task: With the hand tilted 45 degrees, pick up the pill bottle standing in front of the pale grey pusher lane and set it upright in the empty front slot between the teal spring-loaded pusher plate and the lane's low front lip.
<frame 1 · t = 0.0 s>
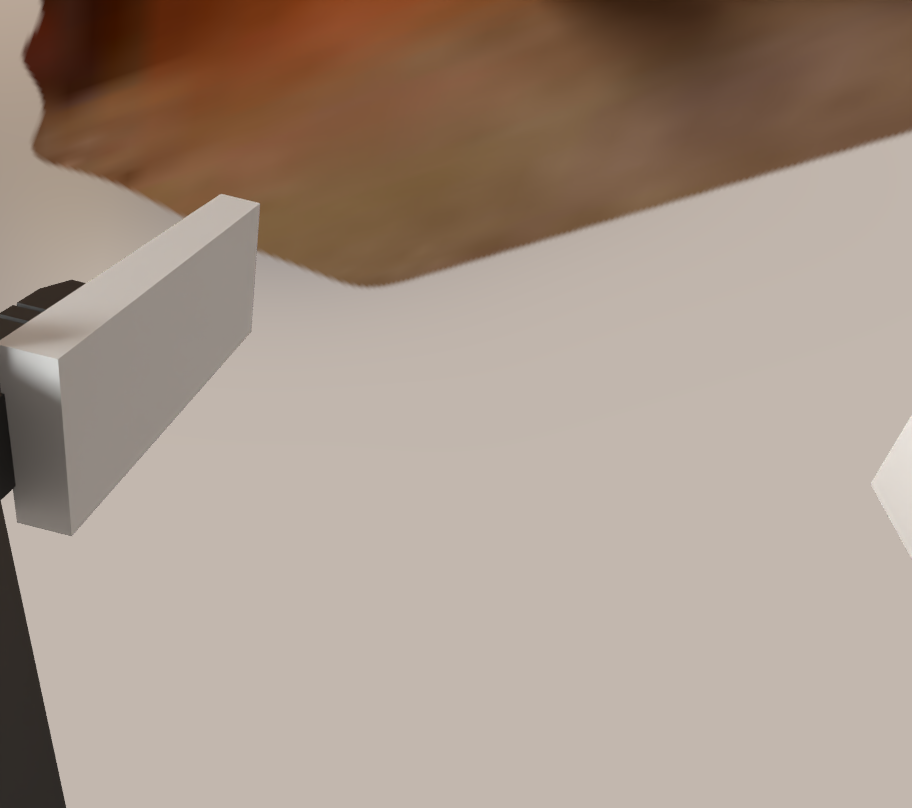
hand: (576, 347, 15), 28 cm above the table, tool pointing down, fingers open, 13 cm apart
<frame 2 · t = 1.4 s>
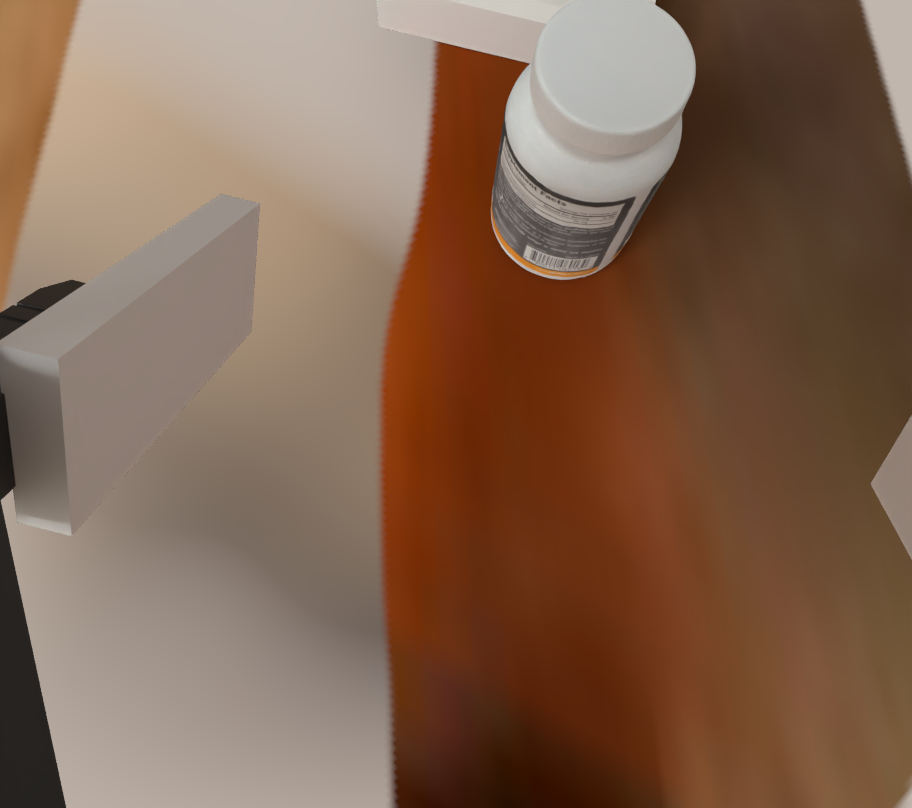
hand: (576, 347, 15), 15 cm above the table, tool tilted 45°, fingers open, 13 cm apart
pill bottle: (557, 223, 32), on the table
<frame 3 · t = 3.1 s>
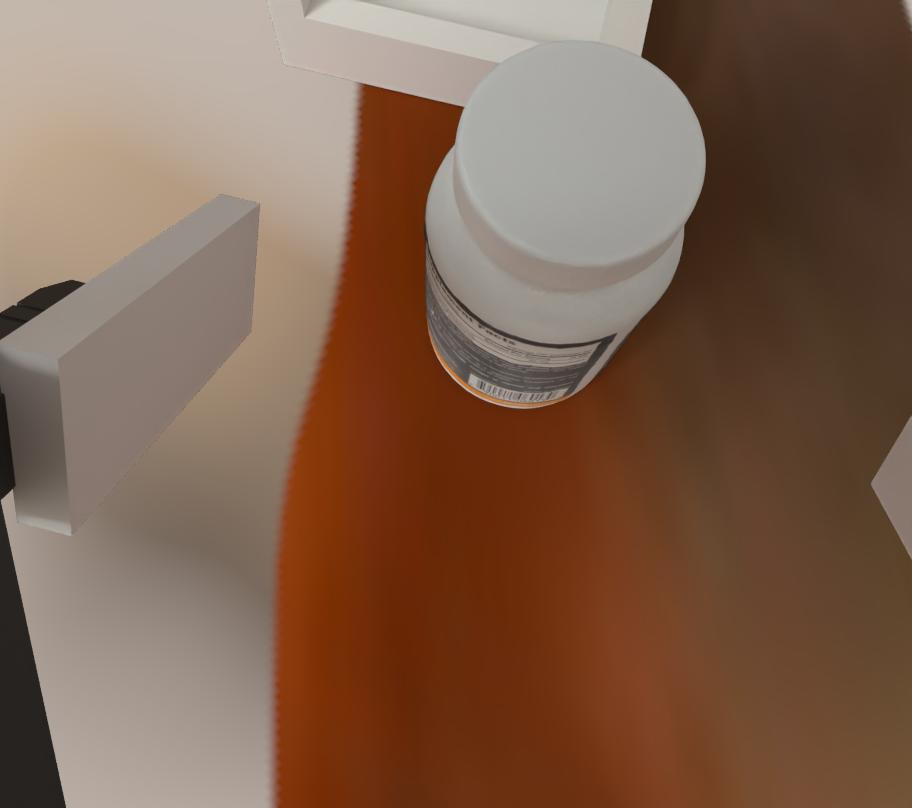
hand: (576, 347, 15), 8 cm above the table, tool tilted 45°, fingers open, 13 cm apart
pill bottle: (518, 326, 24), on the table
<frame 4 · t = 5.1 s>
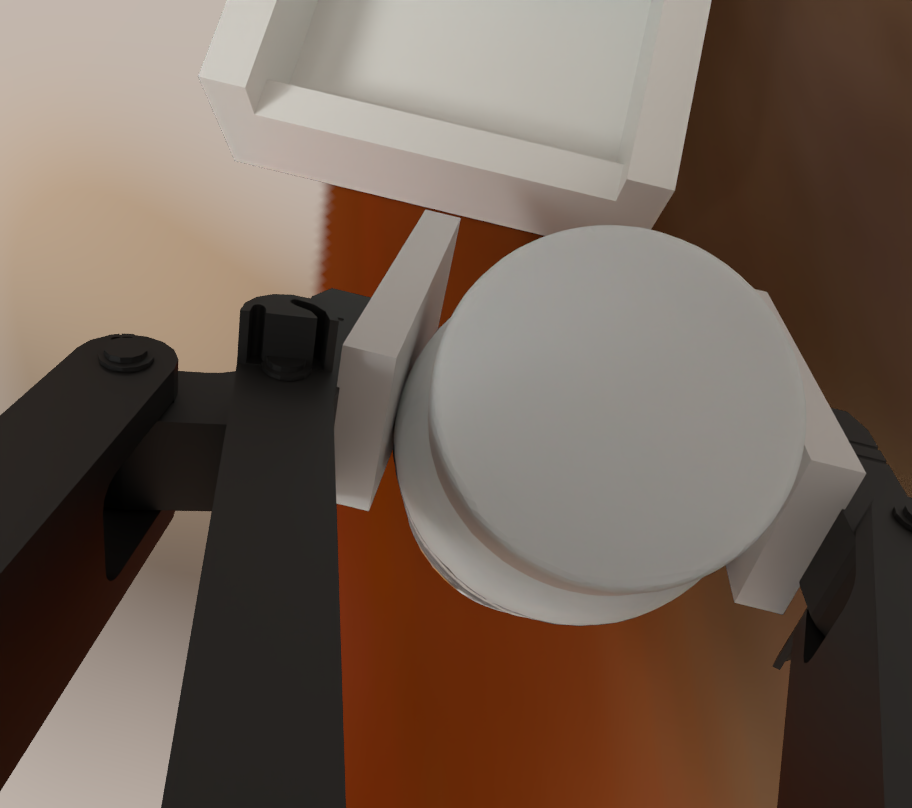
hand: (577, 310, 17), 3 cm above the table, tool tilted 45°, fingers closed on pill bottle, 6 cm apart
pill bottle: (520, 496, 19), on the table, touching gripper
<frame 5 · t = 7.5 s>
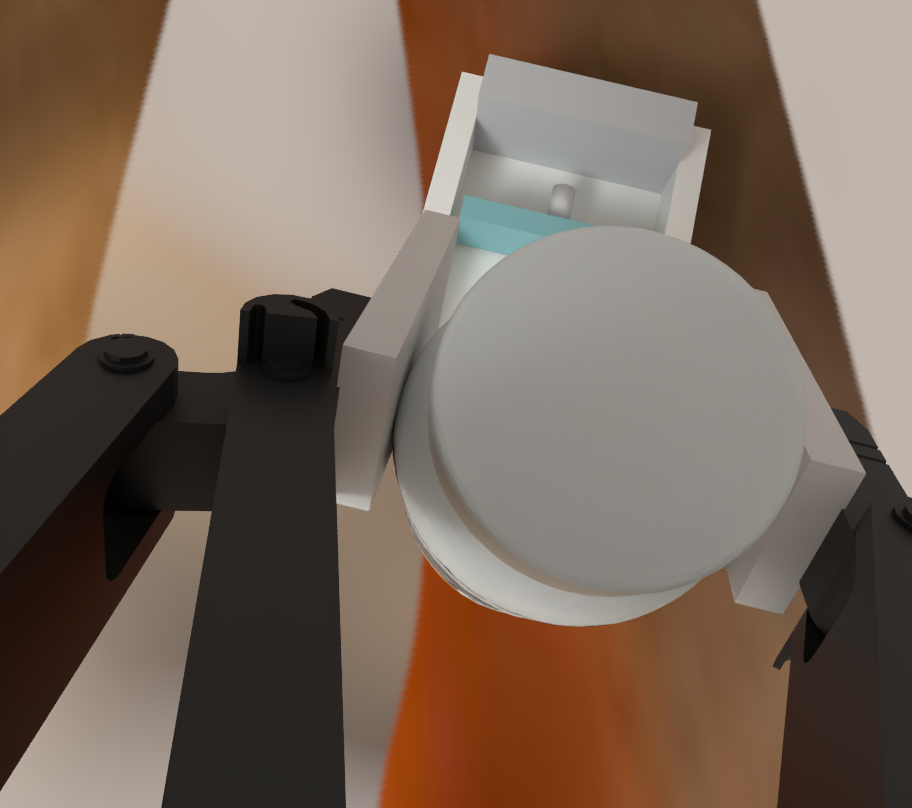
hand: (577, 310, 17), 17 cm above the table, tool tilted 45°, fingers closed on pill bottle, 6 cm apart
pusher lane: (536, 299, 35), on the table
pusher plate: (557, 220, 33), point 2 cm above the table, slide at 0.0 cm
pill bottle: (520, 496, 19), point 13 cm above the table, touching gripper
when the fingers open (6 cm above the table, at t = 10.0 s): pill bottle drops 1 cm, resting on pusher lane.
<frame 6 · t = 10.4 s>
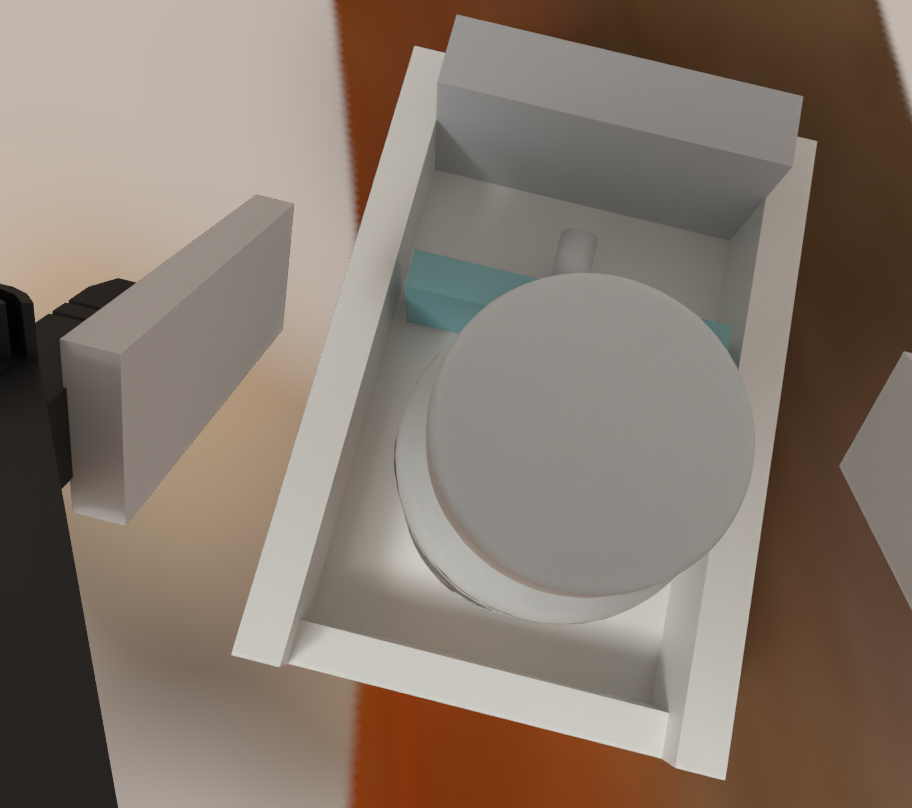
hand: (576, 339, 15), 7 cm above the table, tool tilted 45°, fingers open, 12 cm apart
pusher lane: (533, 407, 22), on the table
pusher plate: (567, 288, 20), point 2 cm above the table, slide at 0.0 cm
pill bottle: (512, 504, 21), point 1 cm above the table, touching pusher lane
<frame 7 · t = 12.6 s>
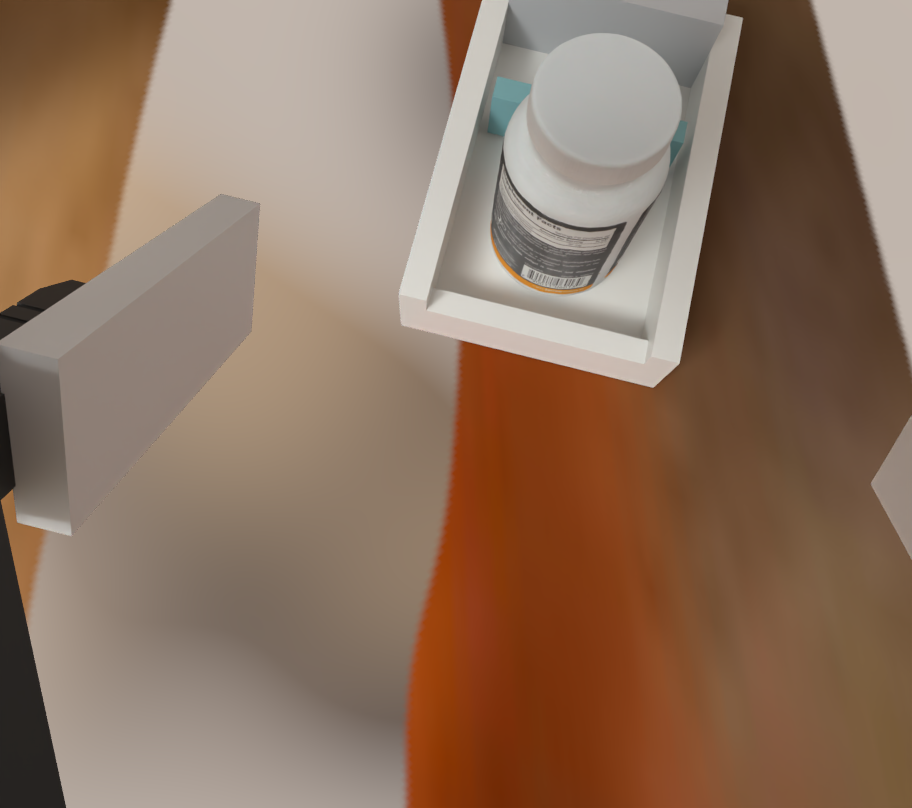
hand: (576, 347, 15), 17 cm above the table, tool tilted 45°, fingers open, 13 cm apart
pusher lane: (565, 191, 35), on the table
pusher plate: (588, 107, 33), point 2 cm above the table, slide at 0.0 cm
pill bottle: (553, 242, 33), point 1 cm above the table, touching pusher lane
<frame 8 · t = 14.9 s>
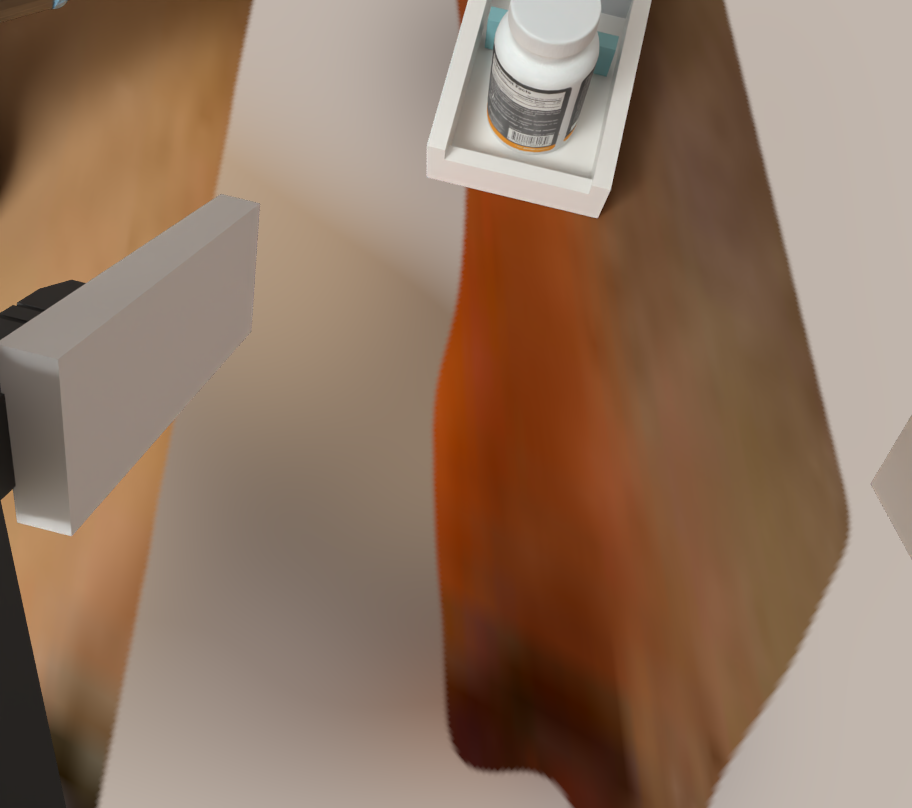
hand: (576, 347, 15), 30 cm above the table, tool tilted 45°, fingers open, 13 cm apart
pusher lane: (538, 89, 51), on the table
pusher plate: (553, 29, 49), point 2 cm above the table, slide at 0.0 cm
pill bottle: (530, 121, 49), point 1 cm above the table, touching pusher lane
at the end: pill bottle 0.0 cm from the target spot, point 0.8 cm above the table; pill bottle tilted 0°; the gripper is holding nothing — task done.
